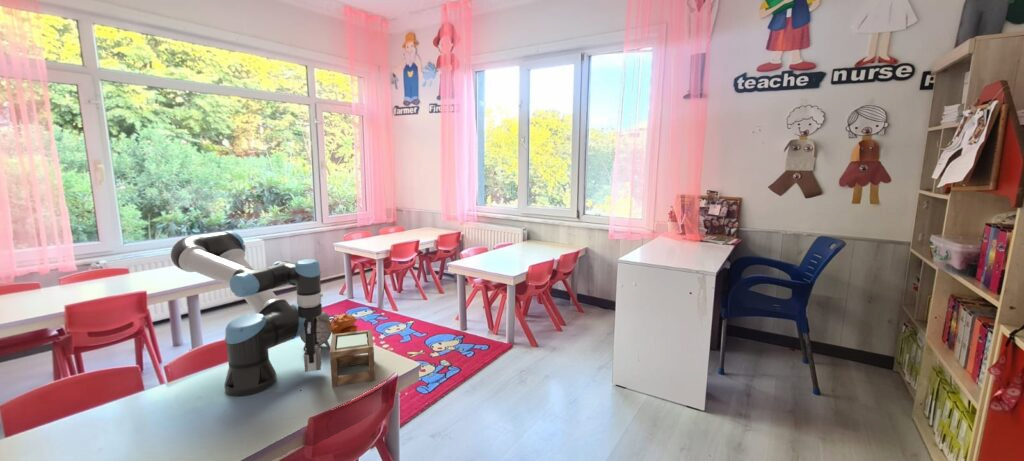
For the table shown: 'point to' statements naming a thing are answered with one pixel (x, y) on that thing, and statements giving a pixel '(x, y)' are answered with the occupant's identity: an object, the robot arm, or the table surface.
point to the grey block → (318, 360)
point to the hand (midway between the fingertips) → (312, 366)
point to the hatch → (351, 341)
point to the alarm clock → (321, 330)
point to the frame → (352, 360)
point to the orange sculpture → (343, 325)
